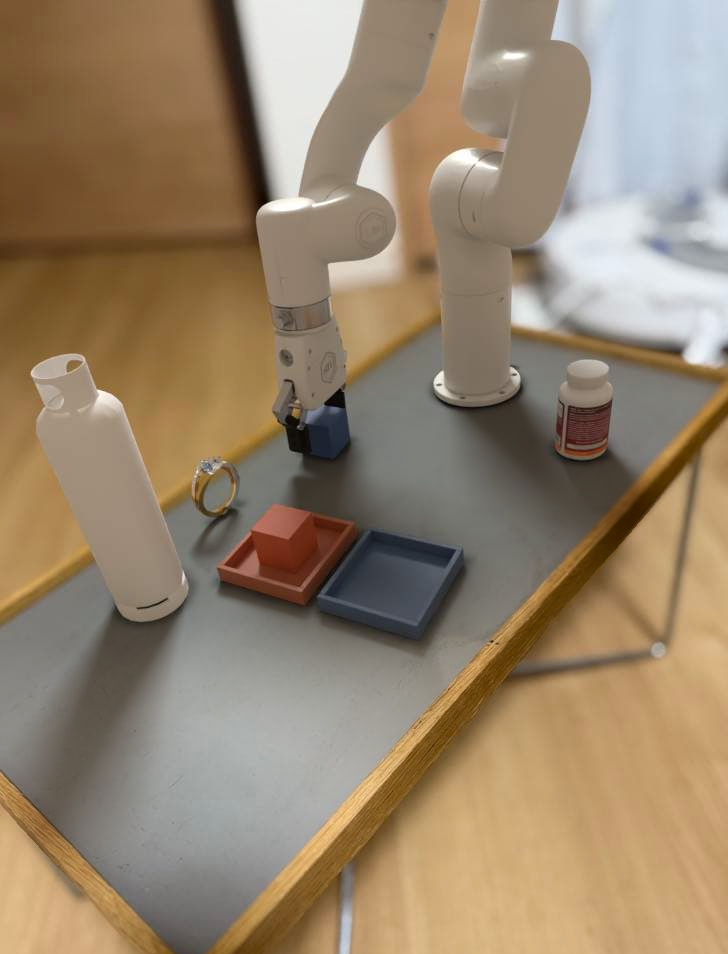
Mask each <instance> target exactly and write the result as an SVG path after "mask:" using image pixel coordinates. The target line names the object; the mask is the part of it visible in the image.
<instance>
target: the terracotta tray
mask: <svg viewBox="0 0 728 954" xmlns="http://www.w3.org/2000/svg"><path fill="white" fill-rule="evenodd" d="M312 516H313V521H314V526H315V531H316V536H317V541H318V548H317V549H316V550H315V551H314V553H313V554H312V555H311V556H310V558H309V559H308V560H307V561H306V563H305V564H304V565H303V566H302V568H301V569H300V570H299V571H298V573H297V574H295V573H291V572H288V571H284V570H281V569H277V568H273V567H270V566H266V565H263V564H260V563H259V560H258V556H257V553H256V549H255V545H254V542H253V538H252V534H251V531H250V530H249V531H248V533H246V534H245V536H243V538H241V540H240V541H239V542H238V543H237V544H236V545H235V547H234V548H232V550H231V551H230V552H229V553H228V554H227V555H226V556H225V557H224V558H223V559H222V561H220V563H219V564H218V565H217V566H216V570H217V573H218V576H219V579H220V581H222V582H226V583H229V584H232V585H235V586H239V587H242V588H245V589H249V590H251V591H255V592H259V593H262V594H264V595H267V596H272V597H274V598H278V599H281V600H285V601H287V602H291V603H294V604H298V605H301V606H303V607H305V606H306V605H307V604H308V602H309V601H310V600H311V598H312V597H313V595H314V594H315V593H316V592H317V590H318V589H319V587H320V586H321V585H322V584H323V583H324V581H325V580H326V578H327V577H328V576H329V574H330V573H331V572H332V570H333V569H334V568H335V567H336V565H337V564H338V563H339V561H340V560H341V558H342V557H343V556H344V555H345V553H346V552H347V551H348V549H349V548H350V547H351V545H352V544H353V543H354V541H355V540H356V539H357V537H358V530H357V525H356V522H354V521H349V520H344V519H341V518H337V517H332V516H329V515H328V516H327V515H323V514H319V513H315V512H312Z"/></svg>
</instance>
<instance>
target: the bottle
mask: <svg viewBox="0 0 728 954" xmlns="http://www.w3.org/2000/svg"><path fill="white" fill-rule="evenodd" d="M71 361H79V362H82V363H81V364H80V365H79V366H78V367H77V368H75V369H73V370H71V371H68V370H67V366H68V363H69V362H71ZM67 371H68V372H67ZM30 376H31V379H32V381H33V383H34V386H35V387H36V389H37V391H38V394H39V396H40V399H41V401H42V403H43V405H44V407H42V409H41V412H40V413H39V415H38V416H37V418H36V419H35V435H36V437H37V439H38V441H39V443H40V446H41V447H42V449H43V450H42V451H43V452H44V454H45V456H46V459H47V460H48V463H49V465H50V467H51V468H52V471H53V473H54V475H55V478H56V479H57V482H58V484H59V486H60V488H61V490H62V492H63V494H64V497H65V499H66V501H67V503H68V505H69V507H70V509H71V512H72V514H73V516H74V518H75V520H76V522H77V525H78V527H79V529H80V530H81V533H82V535H83V538H84V539H85V541H86V543H87V546H88V548H89V550H90V552H91V555H92V556H93V558H94V561H95V563H96V565H97V568H98V569H99V571H100V574H101V576H102V578H103V580H104V582H105V584H106V586H107V588H108V591H109V593H110V594H111V596H112V597H113V602H114V603H115V605H116V608H117V610H118V611H119V613H120V614H121V616H122V617H124V618H125V619H127V620H129V621H131V622H139V623H144V622H153V621H156V620H159V619H162V618H165V617H167V616H168V615H170V614H172V613H174V612H175V611H176V610H178V608H179V607H181V605H182V604H183V603H184V602H185V600H186V599H187V597H188V593H189V589H190V587H189V583H188V579H187V577H186V575H185V571H184V569H183V568H182V567H183V566H182V564H181V561H180V558H179V555H178V552H177V550H176V547H175V544H174V542H173V538H172V536H171V533H170V530H169V528H168V526H167V522H166V519H165V516H164V513H163V511H162V508H161V506H160V503H159V500H158V498H157V494H156V492H155V490H154V487H153V485H152V481H151V479H150V476H149V473H148V471H147V468H146V465H145V462H144V460H143V456H142V454H141V452H140V449H139V446H138V443H137V441H136V438H135V435H134V433H133V430H132V426H131V424H130V421H129V419H128V416H127V413H126V411H125V408H124V405H123V403H122V402H121V401H120V400H119V399H118V398H117V397H116V396H115V395H113V394H112V393H110V392H107V391H104V390H101V389H97V386H96V384H95V380H94V378H93V376H92V374H91V371H90V369H89V366H88V362H87V360H86V357H85V356H83V355H82V354H78V353H66V354H60V355H56V356H52V357H50V358H48V359H45V360H43V361H41V362H40V363H37V364H36V365H35V366H34V367H33V368H32V370H31V371H30ZM162 601H163V602H162ZM160 602H161V603H160ZM158 603H159V604H158ZM156 604H157V605H156Z"/></svg>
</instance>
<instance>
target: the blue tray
mask: <svg viewBox="0 0 728 954" xmlns="http://www.w3.org/2000/svg"><path fill="white" fill-rule="evenodd" d="M464 555H465V553H464V547H462V546H461V547H460V546H457V545H452V544H448V543H444V542H440V541H435V540H431V539H427V538H422V537H418V536H413V535H408V534H406V533H405V534H404V533H401V532H396V531H392V530H389V529H383V528H379V527H375V526H371V525H370V526H368V528H367V529H366V530H365V532H363V534H362V535H361V537H360V539H359V540H358V541H357V542H356V544H355V545H354V547H352V549H351V550H350V552H349V553H348V554H347V555H346V557H345V558H344V559H343V561H342V562H341V563H340V565H339V566H338V568H337V569H336V570H335V572H334V573H333V574H332V576H331V577H330V578H329V580H328V581H327V582H326V583H325V585H324V587H323V588H322V589H321V590H320V592H319V593H318V595H316V601H317V604H318V609H319V611H320V612H324V613H327V614H330V615H333V616H337V617H340V618H342V619H343V618H344V619H346V620H350V621H353V622H357V623H360V624H363V625H366V626H370V627H373V628H375V629H379V630H382V631H385V632H390V633H391V634H392V633H393V634H395V635H399V636H402V637H406V638H408V639H412V640H415V641H419V640H420V638H421V637H422V635H423V633H424V632H425V630H426V628H427V626H428V625H429V623H430V621H431V619H432V618H433V616H434V614H435V613H436V611H437V609H438V608H439V606H440V604H441V602H442V600H443V599H444V597H445V596H446V594H447V592H448V590H449V589H450V587H451V585H452V583H453V581H454V580H455V578H456V576H457V574H458V573H459V572H460V569H461V568H462V566H463V564H464V562H465V556H464Z"/></svg>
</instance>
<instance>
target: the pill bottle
mask: <svg viewBox="0 0 728 954" xmlns="http://www.w3.org/2000/svg"><path fill="white" fill-rule="evenodd" d="M609 375H610V367H609V366H608V364H607V363H605V362H603V361H601V360H597V359H580V360H576V361H573V362H571V363H569V364H568V365H567V367H566V372H565V381H564V382H563V383H562V384H561V385H560V387H559V389H558V395H557V410H556V425H555V437H554V438H555V439H554V447H555V450H556V451H557V453H558V454H560V455H561V456H563V457H564V458H567V459H569V460H574V461H590V460H593V459H596V458H598V457H600V456H602V455H603V454H605V452H606V450H607V447H608V442H609V441H608V440H609V431H610V423H611V416H612V407H613V400H614V399H613V398H614V388H613V385H612V384H611V382H609V381H608V380H609V377H610V376H609Z"/></svg>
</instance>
